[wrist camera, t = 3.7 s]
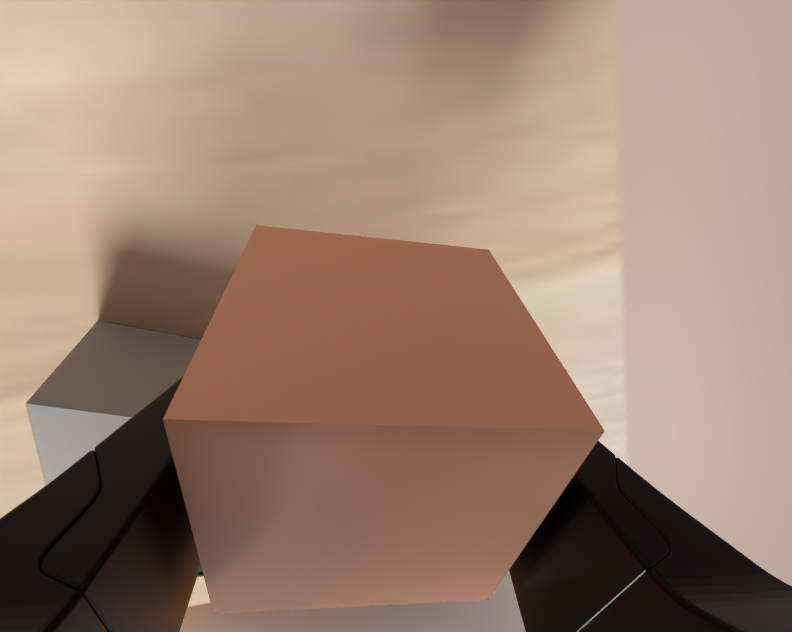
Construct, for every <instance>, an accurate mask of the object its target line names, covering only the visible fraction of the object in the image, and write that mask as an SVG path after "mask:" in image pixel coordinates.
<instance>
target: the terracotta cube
mask: <svg viewBox="0 0 792 632" xmlns="http://www.w3.org/2000/svg"><path fill="white" fill-rule="evenodd" d="M163 422H164V426H165V429H166V433H167V437H168V441H169V445H170V449H171V452H172V456H173V460H174V464H175V468H176V471H177V475H178V479H179V483H180V487H181V491H182V494H183V498H184V502H185V506H186V510H187V513H188V517H189V521H190V525H191V529H192V533H193V536H194V540H195V544H196V548H197V552H198V555H199V559H200V563H201V567H202V571H203V574H204V578H205V582H206V586H207V590H208V594H209V597H210V601H211V605H212V609H213V613H230V612H250V611H271V610H291V609H311V608H332V607H350V606H351V607H352V606H373V605H392V604H412V603H433V602H454V601H474V600H488V599H489V598H490V596H491V595H492V594H493V592H494V591H495V590H496V588H497V586H498V585H499V583H500V582H501V581H502V579H503V578H504V576H505V575H506V574H507V572H508V571H509V569H510V568H511V566H512V565H513V563H514V562H515V560H516V559H517V558H518V556H519V555H520V553H521V552H522V550H523V549H524V547H525V546H526V544H527V543H528V542H529V540H530V539H531V537H532V536H533V534H534V533H535V531H536V530H537V528H538V527H539V526H540V524H541V523H542V521H543V520H544V518H545V517H546V515H547V514H548V512H549V511H550V510H551V508H552V507H553V505H554V504H555V502H556V501H557V499H558V498H559V496H560V495H561V494H562V492H563V491H564V489H565V488H566V486H567V485H568V483H569V482H570V480H571V479H572V478H573V476H574V475H575V473H576V472H577V470H578V469H579V467H580V466H581V464H582V463H583V462H584V460H585V459H586V457H587V456H588V454H589V453H590V451H591V450H592V448H593V447H594V446H595V444H596V443H597V441H598V440H599V438H600V437H601V435H602V434H603V432H604V429H603V428H602V426H601V425H600V423H599V421H598V420H597V418H596V417H595V415H594V414H593V412H592V411H591V409H590V407H589V406H588V404H587V403H586V401H585V400H584V398H583V396H582V395H581V393H580V392H579V390H578V389H577V387H576V386H575V384H574V382H573V381H572V379H571V378H570V376H569V375H568V373H567V371H566V370H565V368H564V367H563V365H562V364H561V362H560V361H559V359H558V357H557V356H556V354H555V353H554V351H553V350H552V348H551V346H550V345H549V343H548V342H547V340H546V339H545V337H544V335H543V334H542V332H541V331H540V329H539V328H538V326H537V325H536V323H535V321H534V320H533V318H532V317H531V315H530V314H529V312H528V310H527V309H526V307H525V306H524V304H523V303H522V301H521V300H520V298H519V296H518V295H517V293H516V292H515V290H514V289H513V287H512V285H511V284H510V282H509V281H508V279H507V278H506V276H505V275H504V273H503V271H502V270H501V268H500V267H499V265H498V264H497V262H496V260H495V259H494V257H493V256H492V254H491V253H490V251H489V250H485V249H476V248H466V247H457V246H447V245H438V244H428V243H419V242H409V241H399V240H390V239H380V238H371V237H361V236H352V235H342V234H333V233H323V232H314V231H304V230H295V229H285V228H275V227H266V226H256V227H255V229H254V231H253V233H252V235H251V238H250V240H249V242H248V244H247V246H246V248H245V250H244V252H243V254H242V256H241V258H240V260H239V262H238V264H237V267H236V269H235V271H234V273H233V275H232V277H231V279H230V281H229V283H228V285H227V287H226V289H225V291H224V293H223V296H222V298H221V300H220V302H219V304H218V306H217V308H216V310H215V312H214V314H213V316H212V318H211V320H210V323H209V325H208V327H207V329H206V331H205V333H204V335H203V337H202V339H201V341H200V343H199V345H198V347H197V349H196V352H195V354H194V356H193V358H192V360H191V362H190V364H189V366H188V368H187V370H186V372H185V374H184V376H183V378H182V381H181V383H180V385H179V387H178V389H177V391H176V393H175V395H174V397H173V399H172V401H171V403H170V405H169V407H168V410H167V412H166V414H165V416H164V418H163Z"/></svg>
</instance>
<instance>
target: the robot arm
mask: <svg viewBox="0 0 792 632" xmlns="http://www.w3.org/2000/svg"><path fill="white" fill-rule="evenodd" d="M182 378H183V376H182V377H181V378H180V379H179V380H177V381H176V382H175V383H174V384H172V385H171V386H170V387H169V388H168V389H166V390H165V391H164V392H163V393H161V394H160V395H159V396H158V397H156V398H155V399H154V400H153V401H151V402H150V403H149V404H148V405H146V406H145V407H144V408H143V409H141V410H140V411H139V412H138V413H137V414H135V415H134V416H133V417H132V418H130V419H129V420H128V421H127V422H125V423H124V424H123V425H122V426H120V427H119V428H118V429H117V430H115V431H114V432H113V433H112V434H110V435H109V436H108V437H107V438H105V439H104V440H103V441H102V442H101V443H99V444H98V445H97V446H96V447H95V448H94V450H95V451H93V450H91V451H89V452H88V453H87V454H85V455H84V456H83V457H82V458H80V459H79V460H78V461H77V462H75V463H74V464H73V465H72V466H70V467H69V468H68V469H67V470H65V471H64V472H63V473H61V474H60V475H59V476H58V477H56V478H55V479H54V480H52V481H51V482H50V483H48V484H47V485H46V486H45V487H43V488H42V489H41V490H39V491H38V492H37V493H35V494H34V495H33V496H31V497H30V498H28V499H27V500H26V501H24V502H23V503H21V504H20V505H19V506H17V507H16V508H14V509H13V510H12V511H10V512H9V513H7V514H6V515H5V516H3V517H2V518H1V519H0V632H179V631H180V628H181V625H182V622H183V619H184V615H185V613H186V609H187V606H188V603H189V600H190V597H191V594H192V591H193V588H194V585H195V581H196V578H197V576H204V574H203V571H202V567H201V563H200V559H199V555H198V552H197V548H196V544H195V540H194V536H193V533H192V529H191V525H190V521H189V517H188V513H187V510H186V506H185V502H184V498H183V494H182V491H181V487H180V483H179V479H178V475H177V471H176V468H175V464H174V460H173V456H172V452H171V449H170V445H169V441H168V437H167V433H166V429H165V426H164V422H163V418H164V416H165V414H166V412H167V410H168V407H169V405H170V403H171V401H172V399H173V397H174V395H175V393H176V391H177V389H178V387H179V385H180V383H181V381H182ZM509 571H510V575H511V579H512V583H513V586H514V590H515V594H516V597H517V601H518V605H519V608H520V612H521V616H522V619H523V623H524V627H525V631H526V632H792V586H790V585H788V584H786V583H784V582H782V581H781V580H779V579H777V578H776V577H774V576H772V575H771V574H769V573H768V572H766V571H765V570H763V569H762V568H761V567H759V566H758V565H756V564H755V563H754V562H752V561H751V560H750V559H748V558H747V557H746V556H744V555H743V554H742V553H740V552H739V551H738V550H736V549H735V548H734V547H732V546H731V545H730V544H728V543H727V542H726V541H724V540H723V539H721V538H720V537H719V536H717V535H716V534H715V533H713V532H712V531H711V530H709V529H708V528H707V527H705V526H704V525H703V524H701V523H700V522H699V521H697V520H696V519H695V518H693V517H692V516H690V515H689V514H688V513H686V512H685V511H684V510H683V509H681V508H680V507H679V506H677V505H676V504H675V503H674V502H672V501H671V500H670V499H668V498H667V497H666V496H664V495H663V494H662V493H660V492H659V491H658V490H657V489H655V488H654V487H653V486H652V485H650V484H649V483H648V482H647V481H646V480H644V479H643V478H642V477H641V476H639V475H638V474H637V473H636V472H634V471H633V470H632V469H631V468H630V467H629V466H627V465H626V464H625V463H624V462H623V461H622V460H620V459H619V458H615V455H614V454H613V453H612V452H611V451H610V450H608V449H607V448H606V447H605V446H604V445H602V444H601V443H600V442H599V441H597V443H596V444H595V446H594V447H593V448H592V450H591V451H590V453H589V454H588V456H587V457H586V459H585V460H584V462H583V463H582V464H581V466H580V467H579V469H578V470H577V472H576V473H575V475H574V476H573V478H572V479H571V480H570V482H569V483H568V485H567V486H566V488H565V489H564V491H563V492H562V494H561V495H560V496H559V498H558V499H557V501H556V502H555V504H554V505H553V507H552V508H551V510H550V511H549V512H548V514H547V515H546V517H545V518H544V520H543V521H542V523H541V524H540V526H539V527H538V528H537V530H536V531H535V533H534V534H533V536H532V537H531V539H530V540H529V542H528V543H527V544H526V546H525V547H524V549H523V550H522V552H521V553H520V555H519V556H518V558H517V559H516V560H515V562H514V563H513V565H512V566H511V568H510V569H509Z"/></svg>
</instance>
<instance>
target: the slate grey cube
mask: <svg viewBox="0 0 792 632" xmlns="http://www.w3.org/2000/svg"><path fill="white" fill-rule="evenodd" d="M200 341H201V339H196V338H190V337H185V336H179V335H174V334H168V333H163V332H157V331H152V330H146V329H141V328H135V327H130V326H124V325H119V324H114V323H108V322H103V321H97V322H96V324H95V325H94V326H93V327H92V328H91V329H90V330H89V332H88V333H87V334H86V335H85V336H84V337H83V338H82V340H81V341H80V342H79V343H78V344H77V345H76V346H75V348H74V349H73V350H72V351H71V352H70V353H69V354H68V356H67V357H66V358H65V359H64V360H63V361H62V363H61V364H60V365H59V366H58V367H57V368H56V369H55V371H54V372H53V373H52V374H51V375H50V376H49V377H48V379H47V380H46V381H45V382H44V383H43V384H42V385H41V387H40V388H39V389H38V390H37V391H36V392H35V393H34V395H33V396H32V397H31V398H30V399H29V400H28V401H27V403H26V407H27V411H28V415H29V419H30V423H31V428H32V432H33V436H34V440H35V444H36V448H37V452H38V456H39V460H40V464H41V468H42V473H43V477H44V481H45V485H47V484H48V483H50V482H51V481H52V480H54V479H55V478H56V477H58V476H59V475H60V474H61V473H63V472H64V471H65V470H67V469H68V468H69V467H70V466H72V465H73V464H74V463H75V462H77V461H78V460H79V459H80V458H82V457H83V456H84V455H85V454H87V453H88V452H89V451H91V450H93V451H95V450H94V448H95V447H96V446H97V445H98V444H99V443H101V442H102V441H103V440H104V439H105V438H107V437H108V436H109V435H110V434H112V433H113V432H114V431H115V430H117V429H118V428H119V427H120V426H122V425H123V424H124V423H125V422H127V421H128V420H129V419H130V418H132V417H133V416H134V415H135V414H137V413H138V412H139V411H140V410H141V409H143V408H144V407H145V406H146V405H148V404H149V403H150V402H151V401H153V400H154V399H155V398H156V397H158V396H159V395H160V394H161V393H163V392H164V391H165V390H166V389H168V388H169V387H170V386H171V385H172V384H174V383H175V382H176V381H177V380H179V379H180V378H181V377H182V376H184V374H185V372H186V370H187V368H188V366H189V364H190V362H191V360H192V358H193V356H194V354H195V352H196V349H197V347H198V345H199V343H200Z"/></svg>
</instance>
